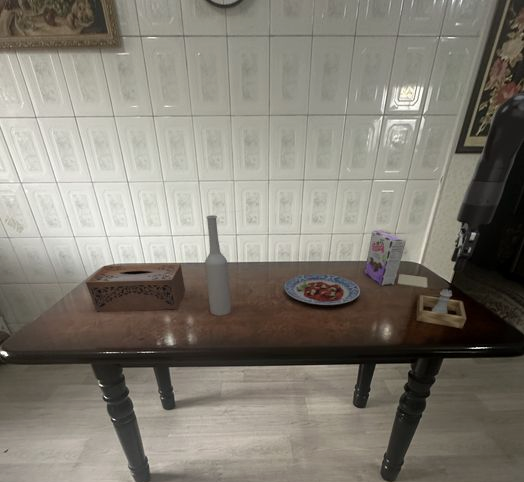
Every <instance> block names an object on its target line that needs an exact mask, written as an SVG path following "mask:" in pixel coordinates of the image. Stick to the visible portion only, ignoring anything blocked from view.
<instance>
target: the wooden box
mask: <svg viewBox="0 0 524 482" xmlns="http://www.w3.org/2000/svg"><path fill="white" fill-rule="evenodd" d="M438 301H439V297H436V296H429V295H424V294H420V295H419V296H418V300H417V303H416V317H415V318H416V319H415V320H416V321H417V322H422V323H428V324H435V325H440V326H444V327H445V326H447V327H451V328H458V329H463V328H464V326H465V324H466V321H467V315H466V311H465V306H464V302H463V301H462V300H457V299H450V298H449V301H448V303H447V311H452V312H455V314H449V313H447V314H444V313H438V312H431V311H432V310H431V311H430V310H424V307H427V308H431V309H433V308H434V307H435V306H436V305H437V303H438Z"/></svg>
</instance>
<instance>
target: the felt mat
mask: <svg viewBox="0 0 524 482" xmlns="http://www.w3.org/2000/svg"><path fill="white" fill-rule="evenodd" d="M397 285H401V286H402V285H403V286H407V287H415V288H416V287H417V288H424V289H428V277H427V276H419V275H412V274H411V275H410V274H402V273H399V274H398V278H397Z"/></svg>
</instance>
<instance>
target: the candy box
mask: <svg viewBox="0 0 524 482" xmlns="http://www.w3.org/2000/svg"><path fill="white" fill-rule="evenodd" d="M406 242H407V239H406V238H403V237H400V236H398V235H397V234H394V233H393V232H390V231H388V229H379V230H378V229H377V230H372V231H371V237H370V241H369V247H368V252H367V258H366V263H365V268H364V271H363V272H364V274H365V275H367V276H368V277H369V278H371V280H372V281H374V282H376V284H378V285H379V286H392V285H395V283H396V279H397V276H398V275H397V274H398V271H399V268H400V265H401V262H402V258H403V257H402V256H403V254H404V250H405V246H406Z"/></svg>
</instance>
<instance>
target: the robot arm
mask: <svg viewBox="0 0 524 482" xmlns="http://www.w3.org/2000/svg"><path fill="white" fill-rule="evenodd" d="M523 141H524V89H523V90H521V91H520V92H518V93H516V94H515V95H512V96H510V97H508V98H506V100H504V101H503V102H502V103H501V104H499V105H498V107H497V108H496V109H495V111H494V112H493V114H492V117H491V119H490V127H489V130H488V133H487V136H486V139H485V143H484V146H483V149H482V151H481V154H480V155H479V157H478V160H477V162H476V165H475V167H474V170H473V172H472V176H471V179H470V182H469V184H468V186H467V188H466V190H465V193H464V196H463V199H462V201H461V205H460V208H459V211H458V213H457V216H456V221H457V222H459V223H461V224H460V228H459V230H458V234H457V236H456V239H455V241H454V243H455V244H454V249H453V252H452V255H451V258H450V261H451V262H453V263H454V266H453V268H452V270H453V272H457V273H462V272H463V271H464V269H465V266H466V264H467V261H468V260H469V259H470V258H472V256H473V253H474V250H475V248H476V245H477V242H478V241H479V240H478V239H479V237H480V235H481V232H480V231H479V226H486V225H489V224H490V223H491V222H492V221H493V218H494V215H495V213H496V210H497V208H498V205H499V203H500V200H501V198H502V195H503V193H504V189H505V186H506V182H507V180H508V177H509V174H510V172H511V170H512V167H513V165H514V162H515V158H516V156H517V153H518V151H519V149H520V147H521V146H522V143H523ZM465 250H467V251H465Z"/></svg>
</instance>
